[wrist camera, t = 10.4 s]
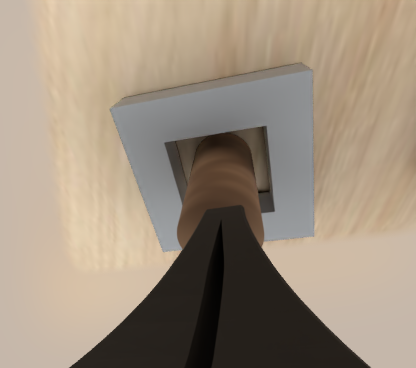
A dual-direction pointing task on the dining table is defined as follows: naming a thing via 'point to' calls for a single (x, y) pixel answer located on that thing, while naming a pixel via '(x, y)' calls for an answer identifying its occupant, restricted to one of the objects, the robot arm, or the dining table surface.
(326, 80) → the dining table surface
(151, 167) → the socket block
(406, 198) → the dining table surface
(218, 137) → the plug
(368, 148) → the dining table surface
